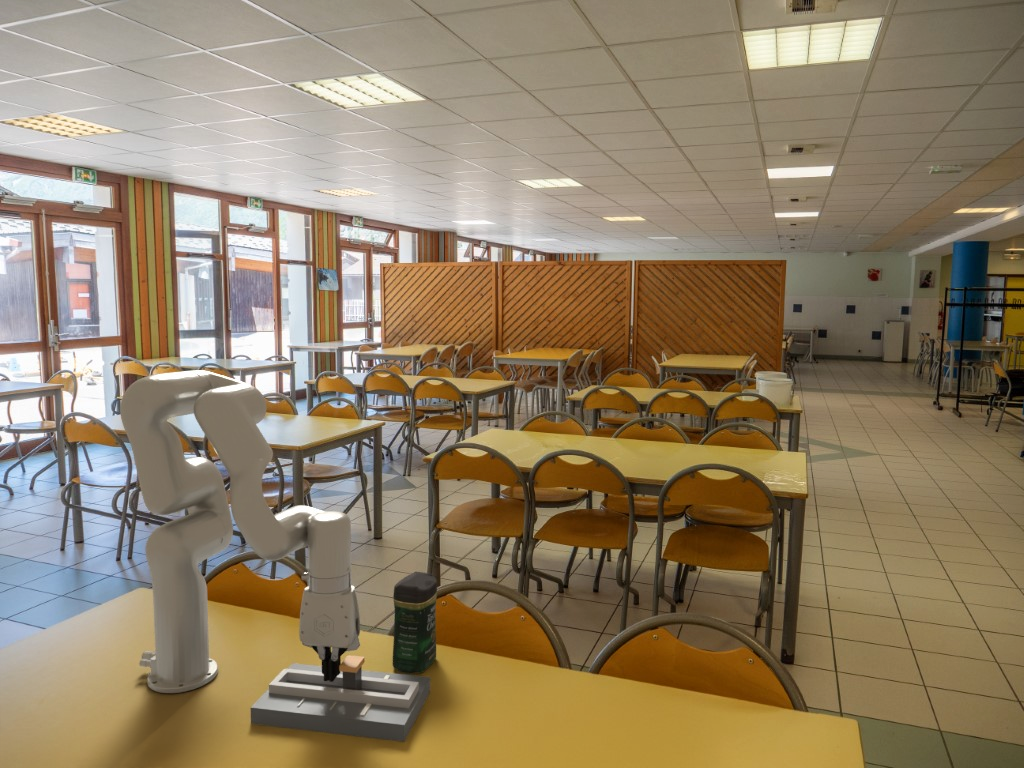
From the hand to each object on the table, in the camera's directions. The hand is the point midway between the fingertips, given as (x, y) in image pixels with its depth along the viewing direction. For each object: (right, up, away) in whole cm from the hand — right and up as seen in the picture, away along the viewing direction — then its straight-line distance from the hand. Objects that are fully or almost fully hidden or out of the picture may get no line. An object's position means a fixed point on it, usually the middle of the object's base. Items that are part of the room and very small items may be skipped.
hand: (331, 677), depth 131 cm
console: (+2, -6, 0) cm, 6 cm away
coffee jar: (+13, -4, +17) cm, 22 cm away
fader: (+4, -3, 0) cm, 5 cm away
